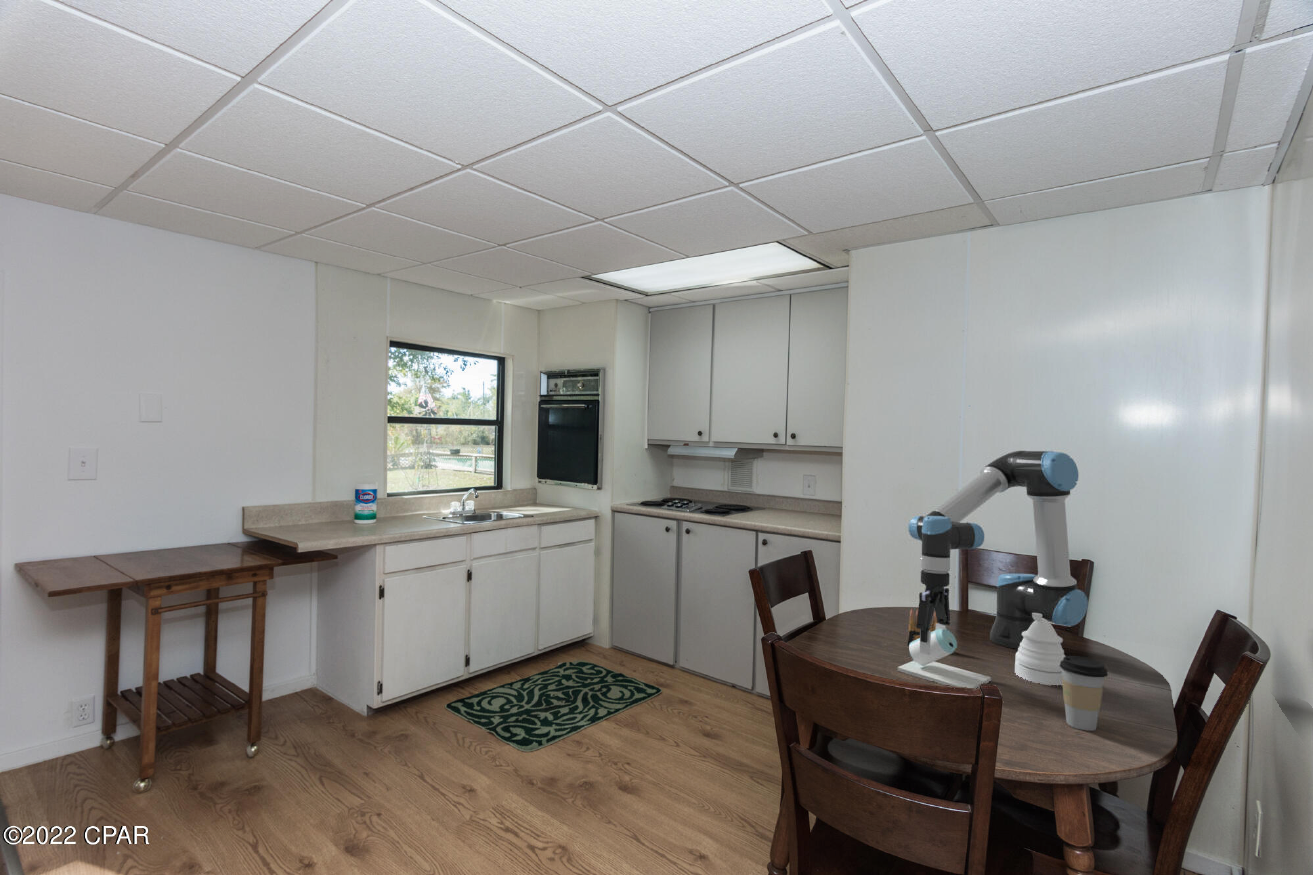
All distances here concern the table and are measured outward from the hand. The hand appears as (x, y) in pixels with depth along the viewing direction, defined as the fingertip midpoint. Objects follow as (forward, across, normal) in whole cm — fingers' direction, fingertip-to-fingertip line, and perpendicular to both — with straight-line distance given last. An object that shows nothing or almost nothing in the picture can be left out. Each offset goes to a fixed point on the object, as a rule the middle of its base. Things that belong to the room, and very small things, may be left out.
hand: (932, 649), depth 182 cm
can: (+3, 0, -5) cm, 6 cm away
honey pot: (+7, -23, +21) cm, 31 cm away
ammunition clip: (+7, -21, -12) cm, 25 cm away
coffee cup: (+7, +6, +38) cm, 39 cm away
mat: (+6, 0, +3) cm, 7 cm away
